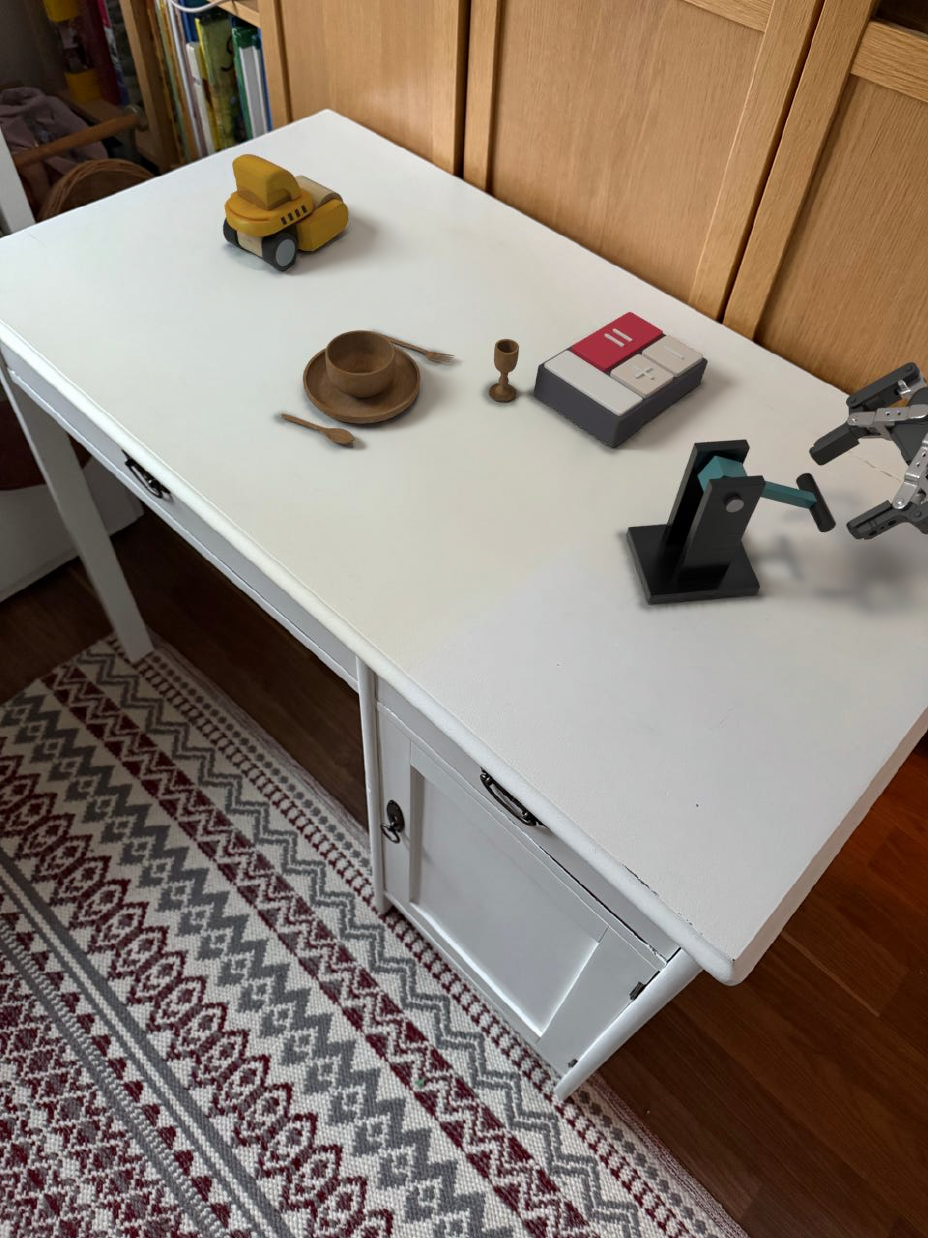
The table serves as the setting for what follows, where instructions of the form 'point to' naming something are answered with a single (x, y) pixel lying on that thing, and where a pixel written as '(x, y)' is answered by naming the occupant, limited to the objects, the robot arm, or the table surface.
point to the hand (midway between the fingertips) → (831, 494)
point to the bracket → (701, 534)
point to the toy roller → (280, 212)
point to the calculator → (619, 377)
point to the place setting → (378, 379)
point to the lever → (777, 490)
